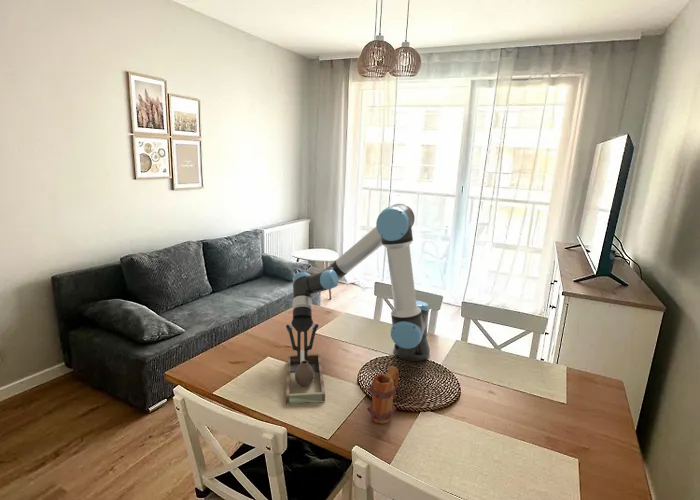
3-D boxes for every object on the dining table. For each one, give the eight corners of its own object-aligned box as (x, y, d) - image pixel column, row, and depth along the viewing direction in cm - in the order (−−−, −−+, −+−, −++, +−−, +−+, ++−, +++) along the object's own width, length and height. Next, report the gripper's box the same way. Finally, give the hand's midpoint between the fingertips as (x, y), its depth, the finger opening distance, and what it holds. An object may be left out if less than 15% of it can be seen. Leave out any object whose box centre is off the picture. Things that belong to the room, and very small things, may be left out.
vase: (311, 390, 141) (311, 367, 139) (292, 387, 142) (292, 365, 140) (315, 379, 148) (316, 358, 146) (298, 377, 149) (297, 356, 147)
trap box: (287, 362, 160) (287, 355, 159) (320, 360, 162) (320, 353, 161) (286, 403, 133) (286, 395, 132) (325, 401, 135) (325, 393, 134)
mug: (385, 431, 121) (388, 387, 117) (362, 421, 125) (364, 378, 122) (405, 407, 133) (408, 366, 130) (384, 399, 137) (386, 359, 134)
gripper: (318, 312, 164) (319, 370, 152) (286, 313, 163) (285, 371, 151) (318, 305, 158) (320, 364, 146) (285, 305, 156) (284, 365, 144)
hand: (302, 367), depth 148 cm, fingers closed
